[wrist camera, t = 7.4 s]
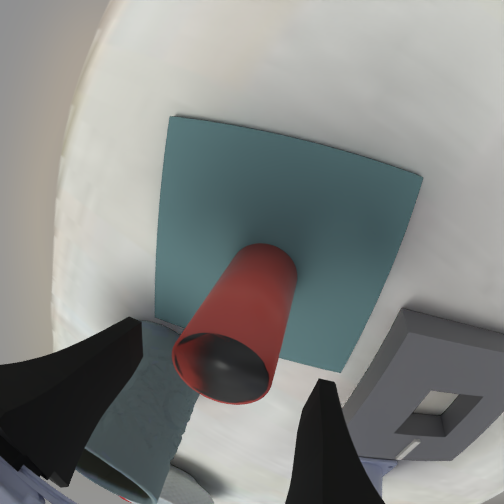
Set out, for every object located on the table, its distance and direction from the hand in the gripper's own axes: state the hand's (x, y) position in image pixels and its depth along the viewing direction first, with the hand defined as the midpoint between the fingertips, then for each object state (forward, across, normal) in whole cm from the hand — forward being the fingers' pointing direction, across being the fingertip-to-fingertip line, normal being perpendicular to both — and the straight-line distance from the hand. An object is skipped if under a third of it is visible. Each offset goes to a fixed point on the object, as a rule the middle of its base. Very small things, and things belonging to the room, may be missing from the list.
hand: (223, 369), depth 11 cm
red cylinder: (+8, 0, 0) cm, 8 cm away
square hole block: (+8, -16, +7) cm, 19 cm away
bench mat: (+8, 0, -1) cm, 8 cm away
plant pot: (+9, +7, +12) cm, 16 cm away
